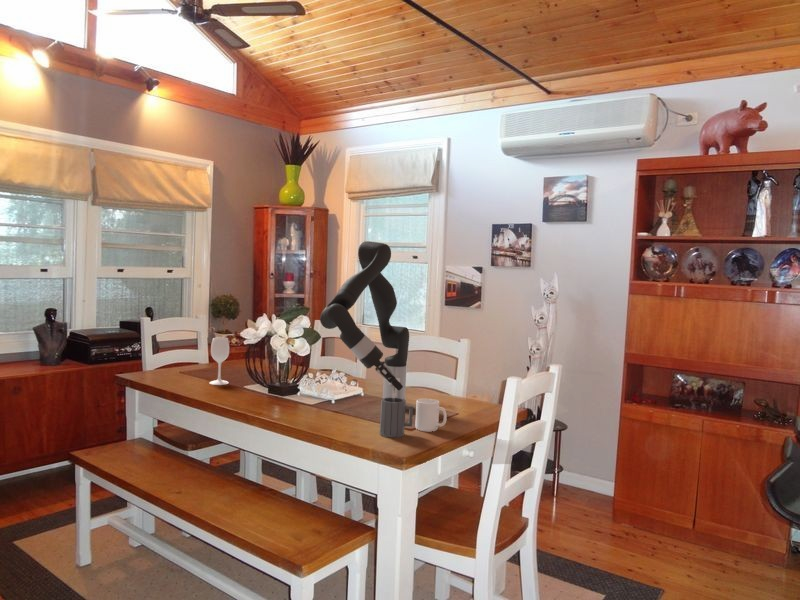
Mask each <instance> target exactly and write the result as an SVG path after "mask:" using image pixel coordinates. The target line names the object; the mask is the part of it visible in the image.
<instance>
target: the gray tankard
mask: <svg viewBox="0 0 800 600" xmlns="http://www.w3.org/2000/svg"><path fill="white" fill-rule="evenodd" d="M380 401H381V402H380V403H381V404H380V421H379V422H380V423H379V435H380V436H382V437H383V436H384V437H383V438H389V439H390V438H391V439H397V438H402V437H404V436H405V427H413V415H414V414H413V413H414V406H413V405H406V403H407V402H406V401H407V400H406V398H405V399H402V398H396V397H395V402H392V397H387V398H383V397H382V398H381V400H380ZM406 410H409V411H408V412H409V413H408V422H406Z"/></svg>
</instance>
